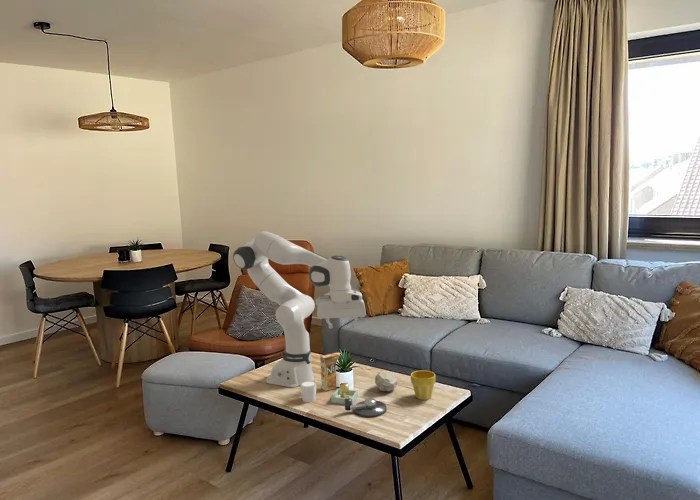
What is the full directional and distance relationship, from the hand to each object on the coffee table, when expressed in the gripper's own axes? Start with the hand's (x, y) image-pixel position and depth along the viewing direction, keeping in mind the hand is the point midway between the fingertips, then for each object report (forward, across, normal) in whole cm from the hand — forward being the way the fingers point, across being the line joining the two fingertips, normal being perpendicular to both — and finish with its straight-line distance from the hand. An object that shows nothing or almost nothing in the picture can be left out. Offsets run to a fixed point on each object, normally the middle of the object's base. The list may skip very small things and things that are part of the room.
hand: (342, 327), depth 218 cm
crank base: (+31, +10, -11) cm, 35 cm away
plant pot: (+31, +33, 0) cm, 46 cm away
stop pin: (+31, 0, 0) cm, 31 cm away
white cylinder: (+31, -15, +1) cm, 35 cm away
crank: (+30, +7, -12) cm, 33 cm away
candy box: (+31, -6, +13) cm, 34 cm away
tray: (+31, 0, 0) cm, 31 cm away
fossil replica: (+31, +18, +10) cm, 38 cm away
